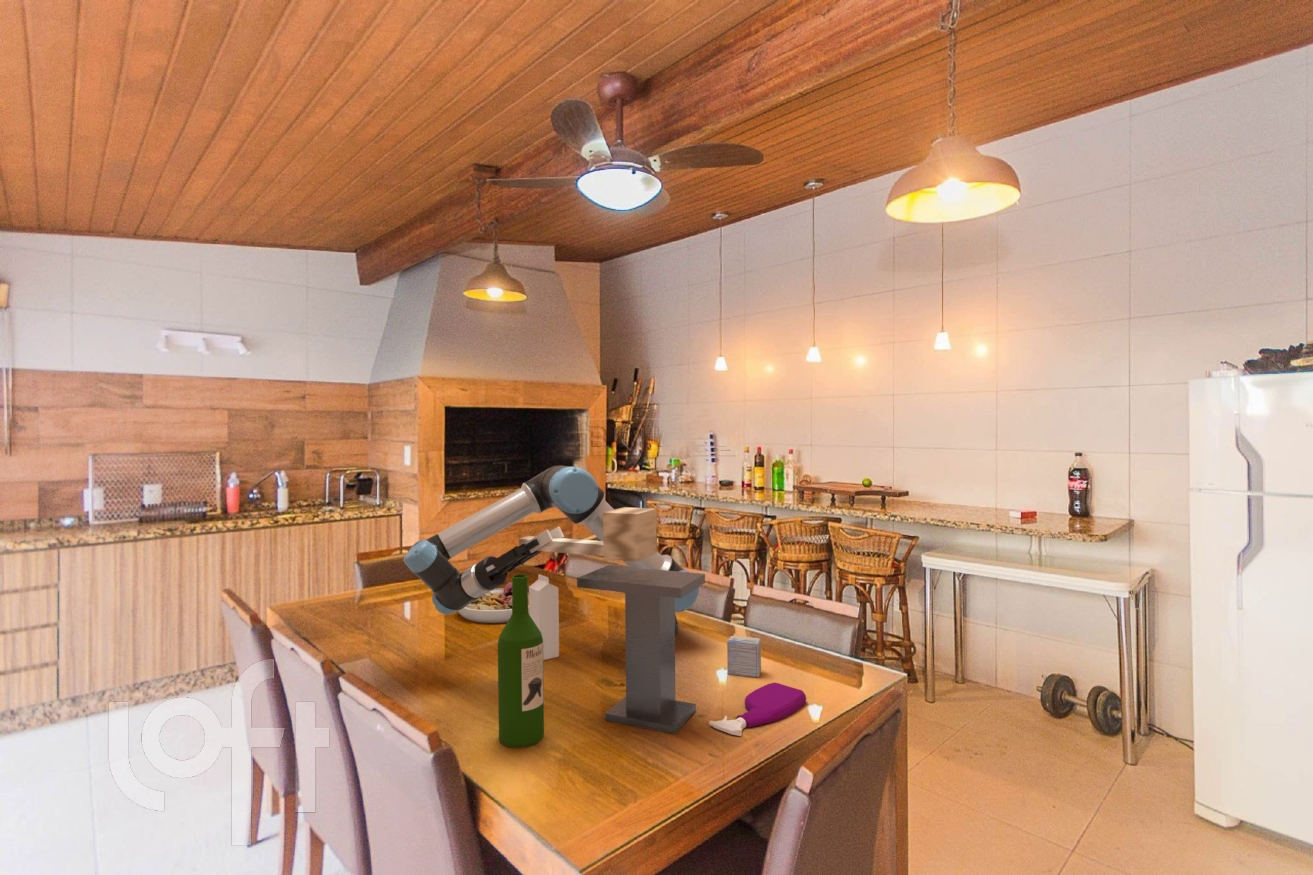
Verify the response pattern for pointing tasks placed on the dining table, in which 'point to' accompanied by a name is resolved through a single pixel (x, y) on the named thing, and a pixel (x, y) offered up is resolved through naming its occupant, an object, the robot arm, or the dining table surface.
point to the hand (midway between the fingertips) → (555, 533)
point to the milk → (545, 614)
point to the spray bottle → (764, 708)
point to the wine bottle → (520, 674)
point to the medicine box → (744, 656)
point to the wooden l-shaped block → (614, 537)
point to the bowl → (491, 606)
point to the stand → (648, 643)
